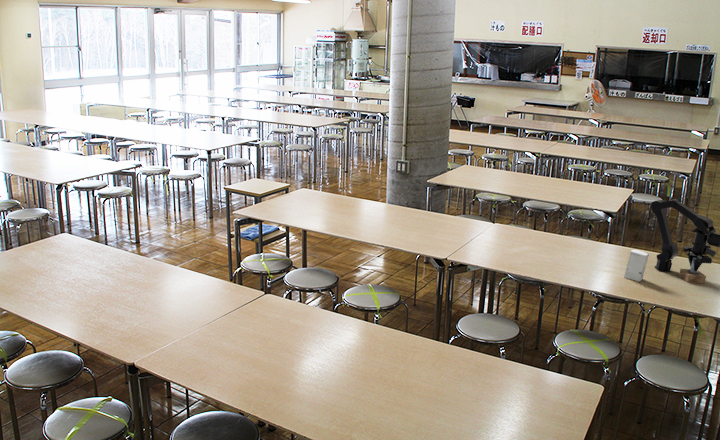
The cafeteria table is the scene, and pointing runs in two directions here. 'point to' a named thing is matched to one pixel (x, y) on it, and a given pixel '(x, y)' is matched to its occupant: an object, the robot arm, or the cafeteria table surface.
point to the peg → (693, 267)
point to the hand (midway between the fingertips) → (693, 269)
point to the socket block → (692, 276)
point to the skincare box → (636, 265)
